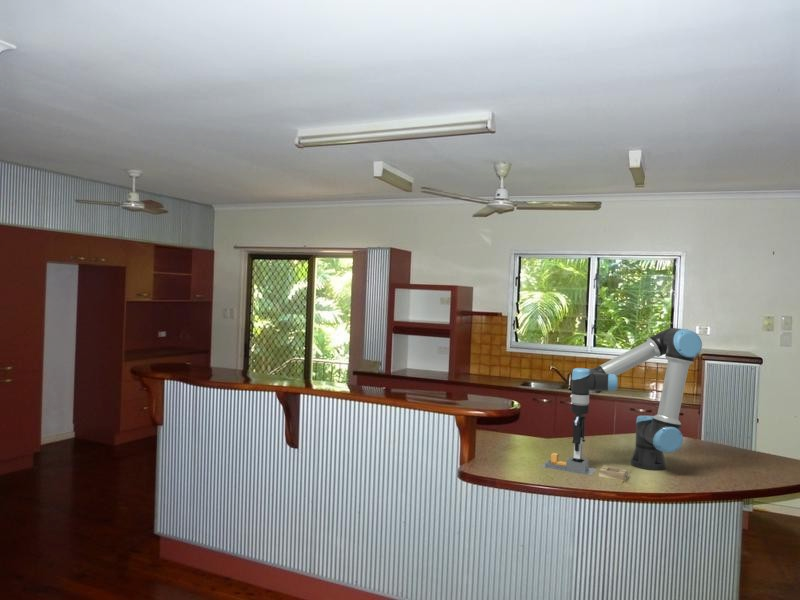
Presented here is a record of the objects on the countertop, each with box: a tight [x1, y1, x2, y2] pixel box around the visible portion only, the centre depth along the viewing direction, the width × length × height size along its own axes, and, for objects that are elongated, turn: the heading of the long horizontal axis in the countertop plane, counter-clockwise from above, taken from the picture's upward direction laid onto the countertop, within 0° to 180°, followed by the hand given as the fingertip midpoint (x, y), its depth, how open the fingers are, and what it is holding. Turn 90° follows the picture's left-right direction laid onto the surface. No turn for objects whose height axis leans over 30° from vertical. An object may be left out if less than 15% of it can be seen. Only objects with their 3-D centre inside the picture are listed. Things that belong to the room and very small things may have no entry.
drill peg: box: [574, 437, 584, 462], centre depth 269 cm, size 3×3×14 cm
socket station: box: [539, 456, 597, 476], centre depth 271 cm, size 12×22×5 cm, turn 61°
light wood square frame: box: [598, 465, 629, 484], centre depth 262 cm, size 10×10×4 cm
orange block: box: [550, 452, 566, 466], centre depth 273 cm, size 3×8×5 cm, turn 61°
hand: (578, 457), depth 269 cm, fingers closed on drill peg, 3 cm apart
